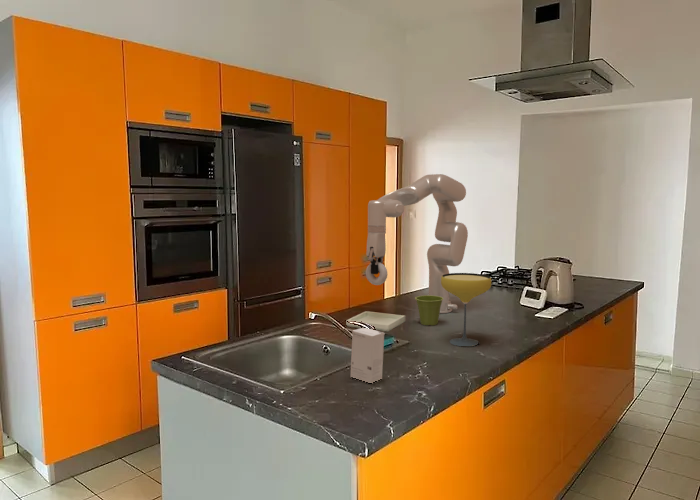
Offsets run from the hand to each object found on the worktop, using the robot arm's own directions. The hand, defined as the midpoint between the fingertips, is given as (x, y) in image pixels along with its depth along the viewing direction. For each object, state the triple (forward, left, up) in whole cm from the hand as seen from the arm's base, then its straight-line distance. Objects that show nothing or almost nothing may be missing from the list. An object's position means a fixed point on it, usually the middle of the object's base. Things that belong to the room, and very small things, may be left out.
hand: (376, 272), depth 222 cm
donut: (0, 0, -5) cm, 5 cm away
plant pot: (-20, -10, -22) cm, 32 cm away
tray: (0, 0, -22) cm, 22 cm away
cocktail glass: (-41, +11, -22) cm, 48 cm away
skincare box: (-25, +62, -22) cm, 70 cm away
